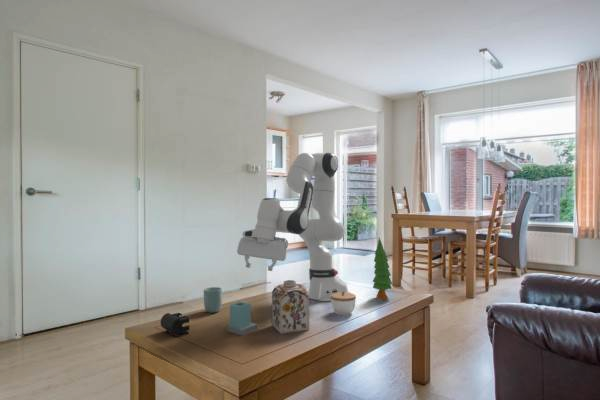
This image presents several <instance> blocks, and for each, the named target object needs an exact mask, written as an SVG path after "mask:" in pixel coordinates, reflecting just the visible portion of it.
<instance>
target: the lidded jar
mask: <svg viewBox="0 0 600 400" xmlns="http://www.w3.org/2000/svg"><path fill="white" fill-rule="evenodd" d="M356 298H357V297H356V294H354V293H351V292H350V293H344V291H342V293H334V294H332V295H331V301H330V305H331V308H332V310H333V311H334V312H335V313H336V315H338V316H349V315H351V313H352V312H353V311H354V309H355V308H356V307H355V306H356Z"/></svg>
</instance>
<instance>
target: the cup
mask: <svg viewBox="0 0 600 400" xmlns="http://www.w3.org/2000/svg"><path fill="white" fill-rule="evenodd" d="M222 291H223V289H222V287H219V286H212V287H211V286H210V287H205V288H204V289H203V306H204V310H205V311H206V313H211V314H213V313H214V314H215V313H218V312H220V310H221V309H222V303H223V292H222Z"/></svg>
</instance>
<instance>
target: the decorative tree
mask: <svg viewBox="0 0 600 400" xmlns="http://www.w3.org/2000/svg"><path fill="white" fill-rule="evenodd" d="M376 246H377V247H376V249H375V252H374V260H373V262H375V264H374V268H373V269H374V272H373V273H374V275H375V276H374V277H373V279H372V283H373V287H372V288H373V289H376V290H378V292H377V295H376V297H375V299H377V300H379V299H380V300H388V299H389V297H388V294H386V290H390V289H392V286H391V285H393V282H392V280H391V278H390V276H392V275H391V272H390V270H389V268H390V265H389V263H388V262H389V260H388V257H387V253H386V251H385V249H384V246H383V243H382V240H381V238H380V237H378V241H377V245H376Z"/></svg>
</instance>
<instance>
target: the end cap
mask: <svg viewBox="0 0 600 400" xmlns="http://www.w3.org/2000/svg"><path fill="white" fill-rule="evenodd" d="M182 315H183V314H182V313H181V312H177V313H169V312H167V313H165V314H164V315H162V317H161V318H160V326H161V327H162V328H163V329H164V330H166V331H167V332H168V333H171V334H173V335H174V336H176V337H182V336H185V335H189V334H190V325H186V326H183V324H187V323H190V317H189V316H187V315H183V316H182Z"/></svg>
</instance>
